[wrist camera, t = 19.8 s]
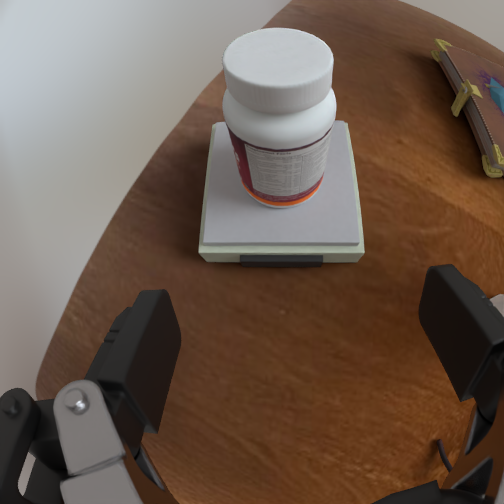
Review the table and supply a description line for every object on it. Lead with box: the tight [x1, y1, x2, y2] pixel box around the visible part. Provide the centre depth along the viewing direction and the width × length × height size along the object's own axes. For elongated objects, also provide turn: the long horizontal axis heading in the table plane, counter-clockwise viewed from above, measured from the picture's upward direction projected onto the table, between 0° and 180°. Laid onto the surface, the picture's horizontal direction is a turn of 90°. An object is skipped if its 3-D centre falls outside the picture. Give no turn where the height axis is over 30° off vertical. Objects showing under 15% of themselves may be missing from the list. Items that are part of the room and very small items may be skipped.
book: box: [430, 39, 504, 178], centre depth 25 cm, size 16×25×5 cm, turn 178°
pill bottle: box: [222, 28, 336, 208], centre depth 17 cm, size 6×6×11 cm
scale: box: [198, 121, 364, 267], centre depth 24 cm, size 12×12×3 cm
